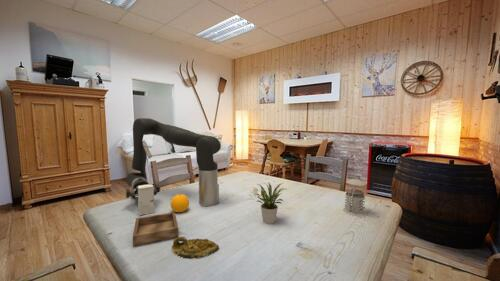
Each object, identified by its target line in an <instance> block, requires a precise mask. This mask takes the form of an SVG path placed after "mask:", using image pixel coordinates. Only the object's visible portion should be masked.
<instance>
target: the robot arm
mask: <svg viewBox="0 0 500 281" xmlns="http://www.w3.org/2000/svg"><path fill="white" fill-rule="evenodd" d="M150 135H155V136H158V137H161V138H162V139H163V140H164V141H165V142H167V143H170V144H172V145H176V146H181V147H188V148H190V147H191V148H195V157H196V165H197V166H198V167H197V168H198V204H199V205H200V206H204V207H212V206H214V205H217V204H220V185H219V182H218V179H219V178H218V169H219V167H218V163H217V162H215V161H214V155H215V154H217V153H218V152H219V151H220V150H221V146H222V144H221V142H220V140H219V139H218V138H217V137H215V136H212V135H205V134H200V133H197V132H194V131H191V130H188V129H185V128H183V127H178V126H174V125H171V124H167V123H166V124H165V123H162V122H160V121H158V120H155V119H153V118H150V117H149V118H136V119H135V120H134V122H133V124H132V141H133V142H132V145H133V154H132V160H131V161H132V162H131V168H132V170H135V171H138V172H130V173H128V174H127V175H126V179H125V181H126V184H127V185H128V186H130V187H131V189H129V188H126V189H125V197H126V199H128V198H131V199H133V200H136V197H138V186H141V185H149V184H150V183H149V182H148V177H147V176H148V175H147V171H146V165H147V159H148V158H147V155H148V154H147V151H146V149H145V147H144V143H143V142H144V136H150ZM153 186H154V197H155V196H156V195H158V193H160V191H161V190H160V186H159V185H158V184H154V185H153Z"/></svg>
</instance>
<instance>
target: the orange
mask: <svg viewBox="0 0 500 281" xmlns="http://www.w3.org/2000/svg"><path fill="white" fill-rule="evenodd" d="M189 205H190V200H189V198H188V196H186V195H185V194H181V193H180V194H176V195H174V196H173V198H172V199H171V201H170V208H171V209H172V211H173V212H176V213H181V212H185V211H187V210H188V208H189Z"/></svg>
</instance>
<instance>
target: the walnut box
mask: <svg viewBox="0 0 500 281" xmlns="http://www.w3.org/2000/svg"><path fill="white" fill-rule="evenodd" d="M177 221H178V220H177V216H176V213H175V211H173V212H166V213H165V212H164V213H160V214H153V215H148V216H141V217H136V218H135V222H134V223H135V224H134V228H133V233H132V248H135V247H139V246H144V245H149V244H154V243H160V242H162V241H168V240H174V239H175V238H177V237H179V225H178V222H177Z"/></svg>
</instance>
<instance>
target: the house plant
mask: <svg viewBox="0 0 500 281" xmlns="http://www.w3.org/2000/svg"><path fill="white" fill-rule="evenodd" d="M264 184H265V185H266V186H267V190H268V193H267V191H266V189H265V188H264V187H263V186H262V185H261V184H259V183H258V186H259V187H260V190H258V192H261V195H262V196H259V197H257V196H258V195H255V196H256V197H255V198H258V199H260V200H256V202H257V203H261V205H260V210H261V217H262V222H263V223H265V224H268V225H269V224H274V223H275V222H276V219H277V214H278V210H279V209H278V207H279V205H278V204H281V205H283V204H282V202H284V200H283V199H282V198H279V199H278V197H279V196H280V195H282V193H283V191H284V190H286V188H284V187H281V188H280V189H279V187H280V186H281V185H282V184H284V183H283V182H282V183H279V184H277V186H276V187H275V188H274V189H273V188H272V184H271V182H269V181H268V182H267V183H266V182H264ZM256 190H257V189H256ZM272 190H273V191H272ZM281 191H282V193H281ZM281 201H282V202H281Z"/></svg>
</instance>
